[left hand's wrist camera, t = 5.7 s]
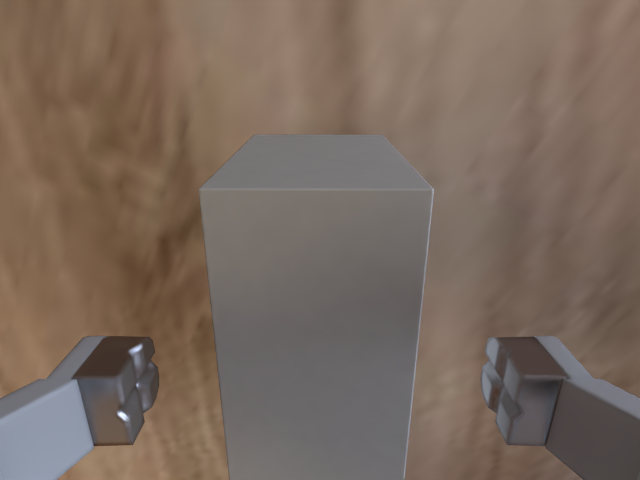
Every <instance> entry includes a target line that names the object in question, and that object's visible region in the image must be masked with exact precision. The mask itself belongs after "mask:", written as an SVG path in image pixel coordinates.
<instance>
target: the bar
mask: <svg viewBox="0 0 640 480" xmlns="http://www.w3.org/2000/svg"><path fill="white" fill-rule="evenodd" d="M433 196H434V189H433V188H432V187H431V186H430V185H429V184H428V183H427V182H426V181H425V180H424V178H423V177H422V176H421V175H420V174H419V173H418V172H417V171H416V170H415V169H414V168H413V167H412V166H411V165H410V164H409V163H408V162H407V160H406V159H405V158H404V157H403V156H402V155H401V154H400V153H399V152H398V151H397V150H396V149H395V148H394V147H393V146H392V145H391V144H390V142H389V141H388V140H387V139H386V138H385V137H384V136H383V135H253V136H252V137H251V138H250V139H249V140H248V141H247V142H246V143H245V144H244V145H243V146H242V147H241V148H240V149H239V150H238V151H237V152H236V153H235V154H234V155H233V156H232V157H231V158H230V159H229V160H228V161H227V162H226V163H225V164H224V165H223V166H222V167H221V168H220V169H219V170H218V171H217V172H216V173H214V174H213V175H212V176H211V177H210V178H209V179H208V180H207V181H206V182H205V183H204V184H203V185H202V186H201V187H200V188H199V199H200V208H201V218H202V227H203V237H204V246H205V255H206V265H207V274H208V284H209V293H210V303H211V312H212V321H213V331H214V340H215V350H216V359H217V368H218V378H219V387H220V397H221V406H222V415H223V425H224V434H225V444H226V453H227V462H228V472H229V480H404V477H405V468H406V458H407V448H408V438H409V429H410V419H411V409H412V400H413V390H414V380H415V370H416V361H417V351H418V341H419V332H420V322H421V312H422V302H423V293H424V283H425V273H426V264H427V254H428V244H429V234H430V225H431V215H432V205H433Z"/></svg>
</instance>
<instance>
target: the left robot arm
mask: <svg viewBox="0 0 640 480" xmlns="http://www.w3.org/2000/svg"><path fill="white" fill-rule="evenodd" d="M154 353H155V349H154V344H153V340H152V339H151V338H150V337H129V336H87V337H84V338H82V339H81V340H80V342H79V343H78V344H77V345H76V346H75V347H74V348H73V349H72V350H71V352H70V353H69V354H68V355H67V356H66V357H65V358H64V359H63V360H62V362H61V363H60V364H59V365H58V366H57V367H56V368H55V369H54V371H53V372H52V373H51V374H50V375H49V376H48V377H47V378H46V379H38V380H36V381H34V382H32V383H30V384H28V385H26V386H24V387H22V388H20V389H18V390H16V391H14V392H12V393H10V394H8V395H6V396H4V397H2V398H0V480H57V479H58V478H59V477H60V476H61V475H63V474H64V473H65V472H66V471H67V470H69V469H70V468H71V467H72V466H73V465H75V464H76V463H77V462H78V461H79V460H81V459H82V458H83V457H84V456H85V455H87V454H88V453H89V452H90V451H91V450H93V449H94V446H112V445H133V444H134V442H135V440H136V438H137V436H138V434H139V432H140V430H141V428H142V426H143V424H144V422H145V421H144V416H143V413H144V412H146V411H147V410H149V409H150V408H151V407H152V406H153V404H154V402H155V400H156V397H157V392H158V388H159V372H158V367H157V366H156V365H155V364H154V363H153V362H152V361H151V358H152V356H153V355H154ZM485 353H486V355H487V356H488V358H489V361H488V362H487V363H486V364H485V365H484V366H483V367H482V373H481V388H482V393H483V397H484V400H485V402H486V404H487V406H488V408H490V409H491V410H493V411H494V412H496V413H497V416H496V421H495V422H496V424H497V426H498V428H499V430H500V432H501V434H502V436H503V438H504V440H505V442H506V444H507V445H527V446H546V449H548V450H549V451H550V452H551V453H552V454H554V455H555V456H556V457H557V458H558V459H560V460H561V461H562V462H563V463H564V464H566V465H567V466H568V467H569V468H570V469H572V470H573V471H574V472H575V473H576V474H578V475H579V476H580V477H581V478H582V479H584V480H640V398H638V397H636V396H634V395H632V394H630V393H628V392H626V391H624V390H622V389H620V388H618V387H616V386H614V385H612V384H610V383H608V382H606V381H604V380H602V379H594V378H593V377H592V376H591V375H590V374H589V373H588V372H587V371H586V369H585V368H584V367H583V366H582V365H581V364H580V363H579V362H578V360H577V359H576V358H575V357H574V356H573V355H572V354H571V353H570V352H569V350H568V349H567V348H566V347H565V346H564V345H563V344H562V343H561V342H560V340H559V339H558V338H556V337H554V336H531V337H489V339H488V341H487V343H486V349H485Z"/></svg>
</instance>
